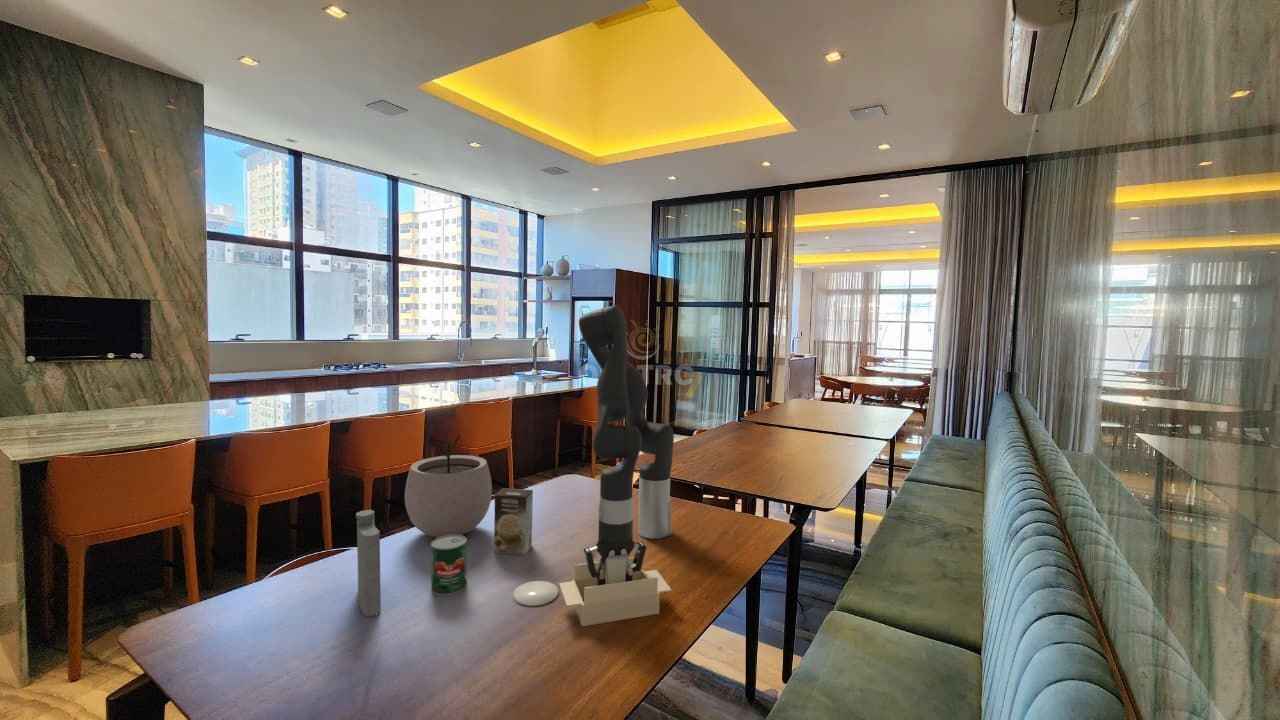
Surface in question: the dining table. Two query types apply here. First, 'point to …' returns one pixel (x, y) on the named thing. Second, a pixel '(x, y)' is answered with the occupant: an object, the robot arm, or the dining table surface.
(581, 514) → the dining table surface
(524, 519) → the coffee box
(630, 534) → the robot arm
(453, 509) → the plant pot
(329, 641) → the dining table surface
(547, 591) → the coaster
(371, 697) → the dining table surface
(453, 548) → the canned tomato
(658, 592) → the carton
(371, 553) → the hip flask
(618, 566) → the skincare box
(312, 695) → the dining table surface
